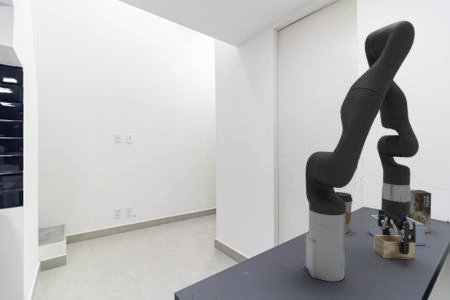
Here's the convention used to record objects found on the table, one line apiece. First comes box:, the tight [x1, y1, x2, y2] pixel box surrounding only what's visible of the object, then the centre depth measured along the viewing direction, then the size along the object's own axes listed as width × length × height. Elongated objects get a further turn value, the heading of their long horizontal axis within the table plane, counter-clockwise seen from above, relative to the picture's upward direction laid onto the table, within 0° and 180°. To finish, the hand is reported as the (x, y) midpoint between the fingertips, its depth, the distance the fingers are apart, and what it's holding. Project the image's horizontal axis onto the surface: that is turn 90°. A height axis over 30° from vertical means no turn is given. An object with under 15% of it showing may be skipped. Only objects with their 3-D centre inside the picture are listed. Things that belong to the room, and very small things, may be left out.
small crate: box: [373, 235, 416, 260], centre depth 76 cm, size 9×6×5 cm, turn 88°
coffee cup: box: [335, 191, 353, 234], centre depth 96 cm, size 8×8×15 cm
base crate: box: [368, 214, 426, 246], centre depth 88 cm, size 13×11×7 cm
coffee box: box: [406, 189, 432, 233], centre depth 97 cm, size 9×6×16 cm
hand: (394, 247), depth 76 cm, fingers open, 8 cm apart
